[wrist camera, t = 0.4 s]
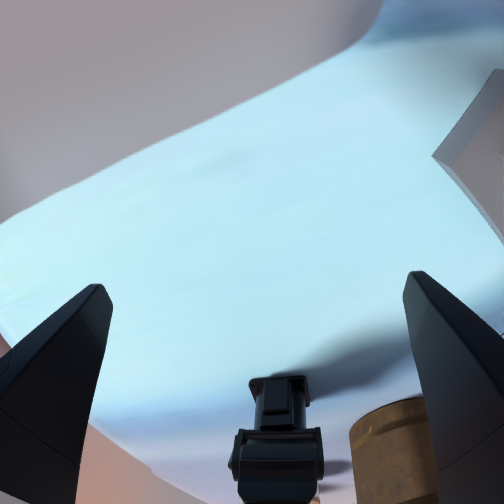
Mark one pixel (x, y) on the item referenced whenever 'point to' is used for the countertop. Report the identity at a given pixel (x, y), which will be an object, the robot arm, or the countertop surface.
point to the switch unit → (480, 152)
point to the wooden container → (394, 456)
